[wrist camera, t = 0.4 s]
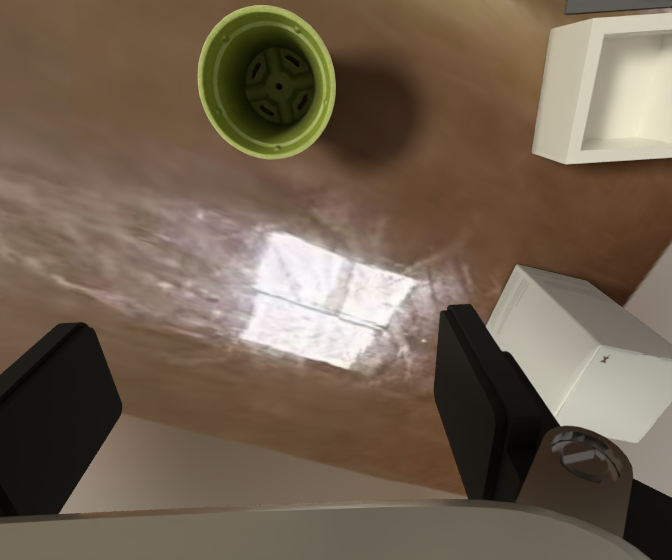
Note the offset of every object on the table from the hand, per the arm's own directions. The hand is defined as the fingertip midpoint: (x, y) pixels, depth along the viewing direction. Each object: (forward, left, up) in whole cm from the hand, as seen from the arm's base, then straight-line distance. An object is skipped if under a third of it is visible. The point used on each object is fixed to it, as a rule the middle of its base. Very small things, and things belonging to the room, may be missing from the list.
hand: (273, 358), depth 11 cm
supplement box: (+17, +24, -30) cm, 42 cm away
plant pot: (-7, -2, -30) cm, 31 cm away
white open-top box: (-5, +26, -30) cm, 40 cm away
